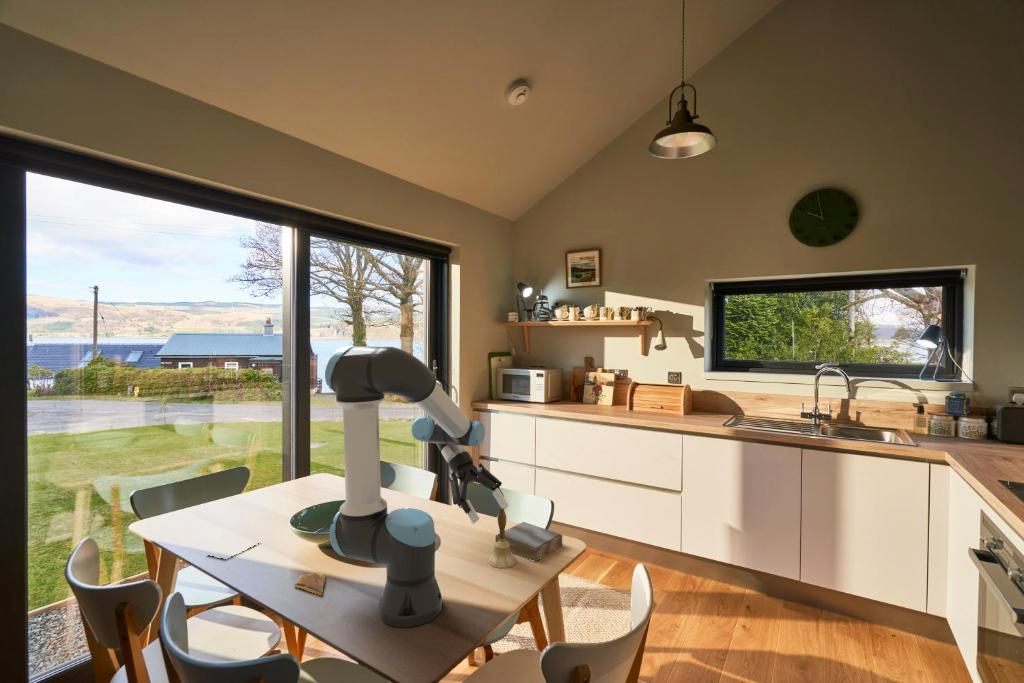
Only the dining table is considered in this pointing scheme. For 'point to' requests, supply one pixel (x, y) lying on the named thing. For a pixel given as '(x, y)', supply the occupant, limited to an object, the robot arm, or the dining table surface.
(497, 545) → the hand bell
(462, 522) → the dining table surface
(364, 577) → the dining table surface
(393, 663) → the dining table surface
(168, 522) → the dining table surface
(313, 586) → the shard
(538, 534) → the walnut stand
